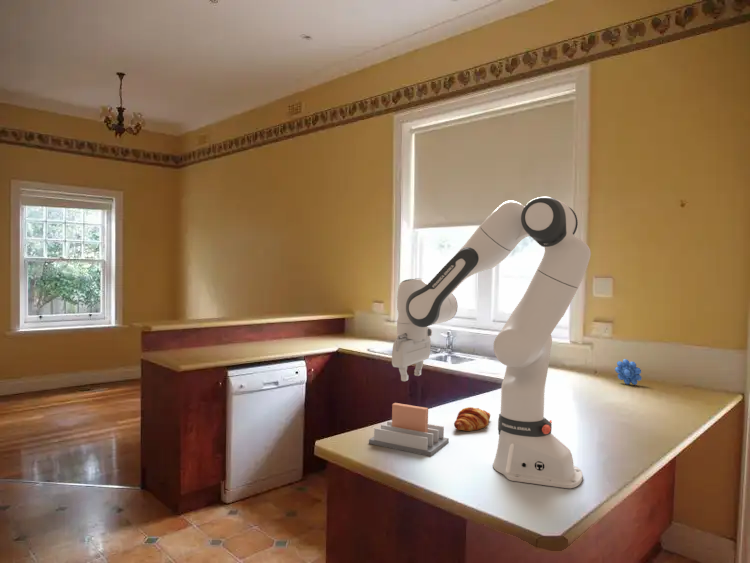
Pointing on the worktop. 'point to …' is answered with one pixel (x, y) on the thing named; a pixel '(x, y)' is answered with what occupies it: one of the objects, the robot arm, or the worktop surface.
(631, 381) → the blue knobbly flower
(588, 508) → the worktop surface
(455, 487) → the worktop surface
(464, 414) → the croissant
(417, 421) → the plate tile
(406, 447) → the dish rack
